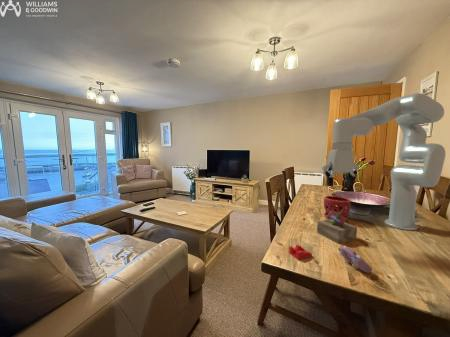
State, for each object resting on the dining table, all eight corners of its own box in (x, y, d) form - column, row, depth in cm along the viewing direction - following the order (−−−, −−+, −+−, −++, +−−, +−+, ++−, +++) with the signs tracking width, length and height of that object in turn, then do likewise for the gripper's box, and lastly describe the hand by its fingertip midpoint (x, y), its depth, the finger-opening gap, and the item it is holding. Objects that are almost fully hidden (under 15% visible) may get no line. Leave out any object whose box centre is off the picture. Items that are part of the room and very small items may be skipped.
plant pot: (349, 224, 100) (351, 202, 99) (322, 219, 107) (323, 199, 105) (349, 217, 111) (350, 197, 110) (324, 213, 118) (325, 194, 116)
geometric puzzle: (352, 221, 84) (341, 204, 87) (347, 225, 79) (336, 207, 82) (338, 226, 89) (327, 210, 92) (332, 230, 84) (322, 214, 87)
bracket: (298, 260, 68) (298, 253, 68) (289, 254, 72) (289, 246, 72) (311, 257, 70) (312, 249, 70) (302, 250, 75) (302, 243, 74)
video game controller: (340, 261, 70) (333, 245, 69) (351, 255, 70) (344, 239, 69) (362, 279, 60) (354, 261, 59) (374, 272, 60) (367, 254, 59)
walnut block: (333, 230, 94) (334, 218, 93) (355, 240, 84) (356, 227, 83) (316, 233, 90) (317, 221, 89) (338, 244, 80) (339, 230, 79)
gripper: (352, 147, 88) (350, 183, 90) (318, 147, 86) (316, 184, 87) (366, 147, 81) (364, 186, 82) (329, 147, 78) (327, 188, 80)
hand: (339, 185), depth 85 cm, fingers open, 9 cm apart
